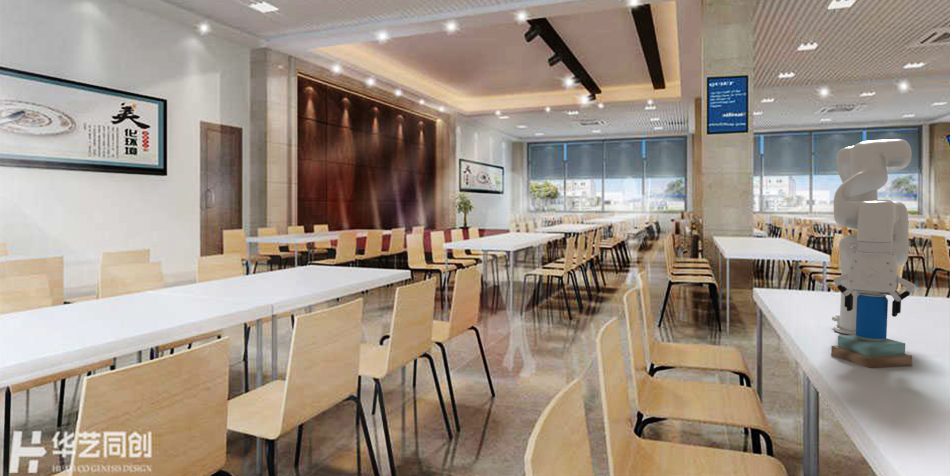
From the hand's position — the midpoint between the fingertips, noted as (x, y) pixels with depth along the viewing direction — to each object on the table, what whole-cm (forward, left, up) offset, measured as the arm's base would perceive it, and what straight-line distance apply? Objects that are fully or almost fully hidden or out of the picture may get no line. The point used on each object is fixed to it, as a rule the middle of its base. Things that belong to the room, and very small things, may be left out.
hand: (871, 312), depth 139 cm
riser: (0, 0, -13) cm, 13 cm away
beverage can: (0, 0, -7) cm, 7 cm away
